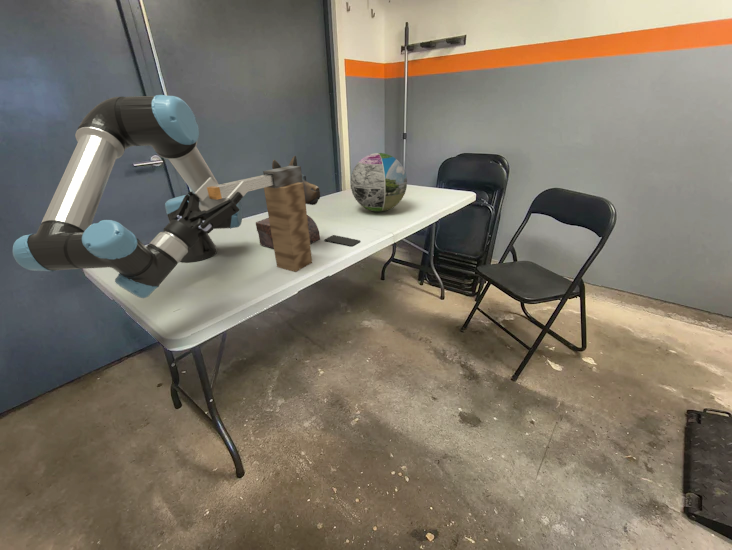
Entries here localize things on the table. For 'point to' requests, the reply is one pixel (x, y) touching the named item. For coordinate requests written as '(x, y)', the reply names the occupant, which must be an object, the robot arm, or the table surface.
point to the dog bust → (310, 198)
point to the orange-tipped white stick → (227, 188)
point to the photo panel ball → (378, 182)
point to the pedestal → (288, 218)
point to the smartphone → (342, 240)
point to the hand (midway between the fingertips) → (229, 183)
